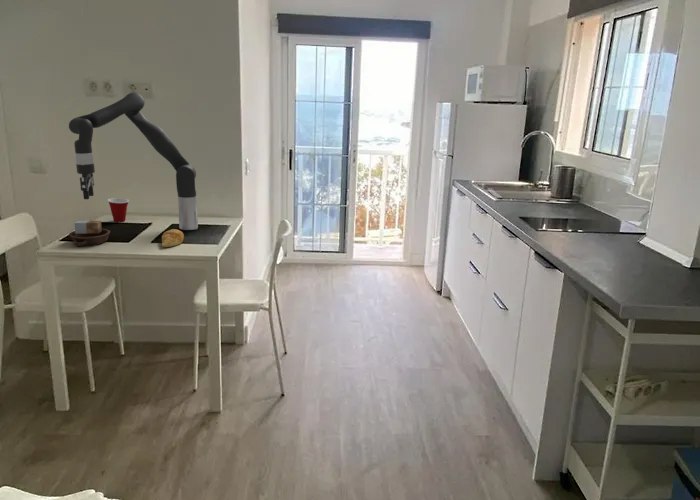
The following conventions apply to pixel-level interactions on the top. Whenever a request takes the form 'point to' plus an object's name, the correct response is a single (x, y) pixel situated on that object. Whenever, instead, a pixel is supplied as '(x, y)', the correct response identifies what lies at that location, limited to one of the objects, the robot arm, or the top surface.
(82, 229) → the grey block
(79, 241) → the dish
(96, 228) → the walnut block
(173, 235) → the croissant
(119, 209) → the plastic cup
